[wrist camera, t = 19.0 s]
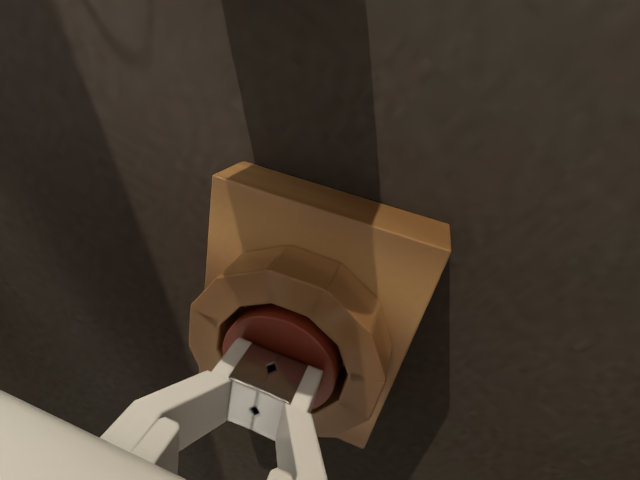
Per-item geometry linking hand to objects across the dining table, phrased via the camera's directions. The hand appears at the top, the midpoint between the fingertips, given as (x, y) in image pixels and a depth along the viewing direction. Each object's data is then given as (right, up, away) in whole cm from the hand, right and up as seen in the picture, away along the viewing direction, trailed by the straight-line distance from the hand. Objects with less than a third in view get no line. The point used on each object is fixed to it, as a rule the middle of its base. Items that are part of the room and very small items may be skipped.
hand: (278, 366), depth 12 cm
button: (0, +1, +2) cm, 2 cm away
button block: (+1, +2, +4) cm, 4 cm away
